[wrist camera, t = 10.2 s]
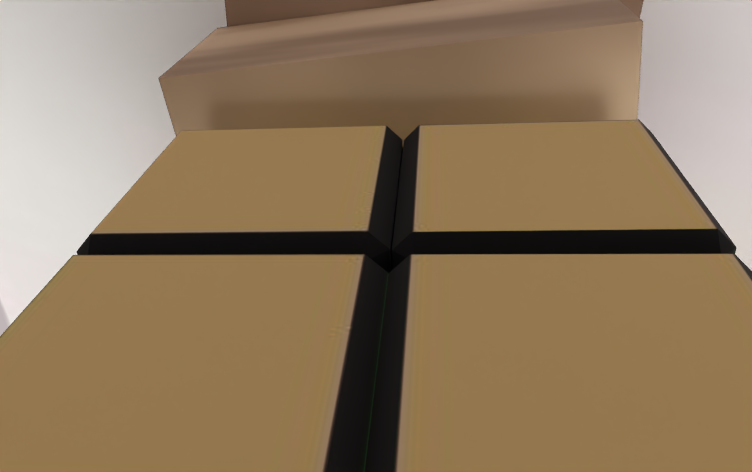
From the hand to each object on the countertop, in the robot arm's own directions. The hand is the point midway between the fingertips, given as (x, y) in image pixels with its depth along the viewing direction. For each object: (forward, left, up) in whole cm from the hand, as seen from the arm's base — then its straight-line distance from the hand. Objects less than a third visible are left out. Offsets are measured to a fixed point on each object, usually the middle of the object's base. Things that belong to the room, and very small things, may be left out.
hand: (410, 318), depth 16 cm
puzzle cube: (0, 0, -1) cm, 1 cm away
